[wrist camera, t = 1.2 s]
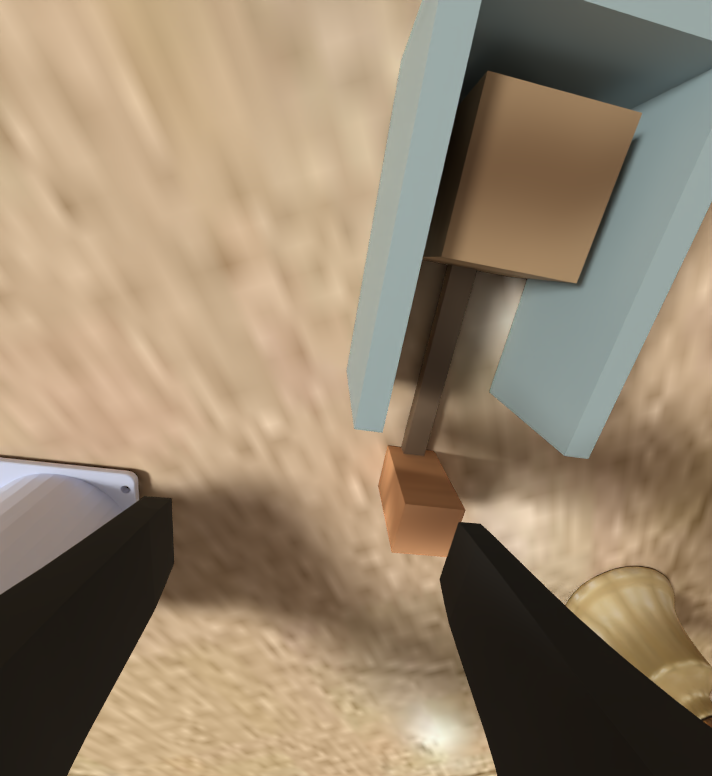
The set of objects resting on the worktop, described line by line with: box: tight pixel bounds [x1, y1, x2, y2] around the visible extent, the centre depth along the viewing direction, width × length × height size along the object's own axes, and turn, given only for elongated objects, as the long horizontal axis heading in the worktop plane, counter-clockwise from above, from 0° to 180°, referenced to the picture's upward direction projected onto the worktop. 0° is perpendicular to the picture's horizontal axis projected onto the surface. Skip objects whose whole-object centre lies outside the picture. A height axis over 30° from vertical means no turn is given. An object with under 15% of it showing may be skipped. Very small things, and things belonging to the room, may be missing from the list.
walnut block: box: [378, 71, 642, 557], centre depth 15 cm, size 18×5×5 cm, turn 170°
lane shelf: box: [347, 0, 712, 459], centre depth 13 cm, size 13×9×6 cm
